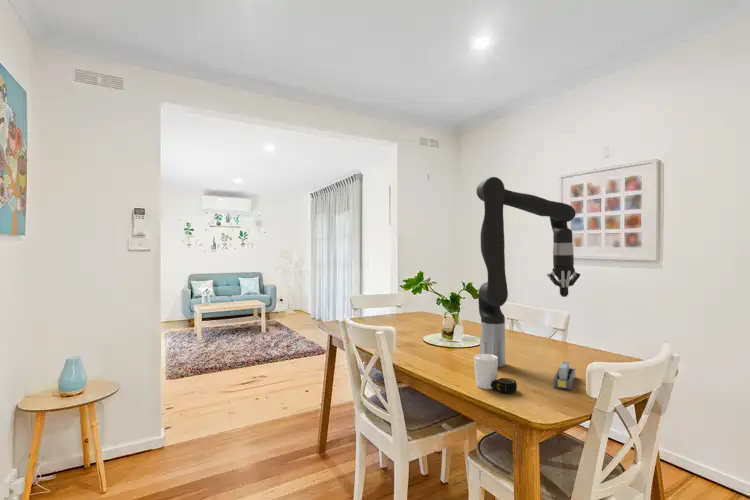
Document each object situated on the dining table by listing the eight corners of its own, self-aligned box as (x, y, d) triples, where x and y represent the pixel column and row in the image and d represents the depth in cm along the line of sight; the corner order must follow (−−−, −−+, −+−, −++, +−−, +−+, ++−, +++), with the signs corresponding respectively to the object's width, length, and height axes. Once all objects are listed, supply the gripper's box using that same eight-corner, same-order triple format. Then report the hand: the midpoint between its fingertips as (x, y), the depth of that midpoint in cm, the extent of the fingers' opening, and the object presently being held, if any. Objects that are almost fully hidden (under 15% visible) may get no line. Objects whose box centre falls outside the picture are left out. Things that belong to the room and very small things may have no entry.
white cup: (480, 380, 137) (479, 352, 137) (501, 385, 132) (501, 356, 132) (470, 386, 131) (470, 357, 131) (492, 391, 126) (492, 361, 126)
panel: (566, 386, 128) (566, 368, 128) (559, 385, 129) (558, 367, 129) (567, 381, 132) (567, 364, 132) (560, 380, 133) (560, 363, 133)
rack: (570, 391, 125) (570, 374, 125) (553, 388, 128) (553, 371, 128) (575, 377, 139) (575, 361, 139) (559, 374, 141) (559, 359, 141)
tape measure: (504, 386, 131) (503, 375, 131) (521, 392, 126) (521, 381, 126) (490, 390, 128) (490, 379, 128) (507, 397, 122) (507, 385, 122)
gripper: (550, 254, 153) (551, 298, 153) (584, 253, 152) (585, 297, 153) (543, 254, 160) (543, 295, 160) (574, 253, 160) (575, 295, 160)
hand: (564, 296), depth 156 cm, fingers closed
